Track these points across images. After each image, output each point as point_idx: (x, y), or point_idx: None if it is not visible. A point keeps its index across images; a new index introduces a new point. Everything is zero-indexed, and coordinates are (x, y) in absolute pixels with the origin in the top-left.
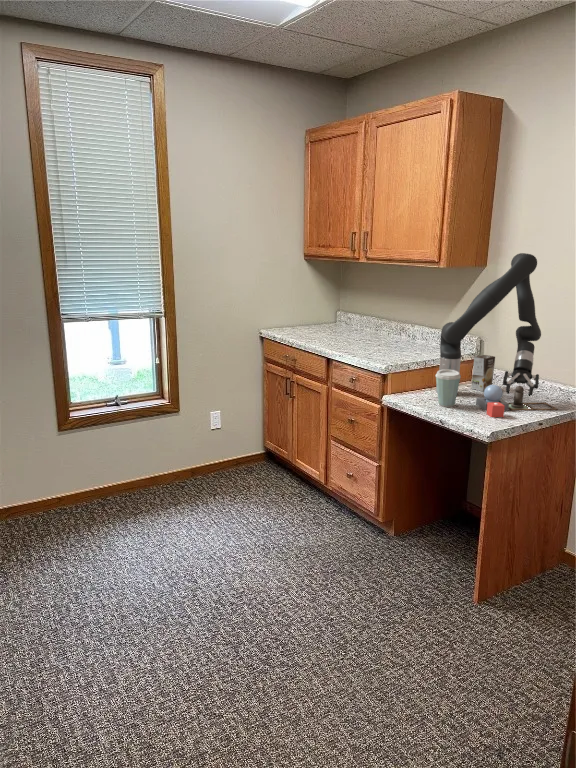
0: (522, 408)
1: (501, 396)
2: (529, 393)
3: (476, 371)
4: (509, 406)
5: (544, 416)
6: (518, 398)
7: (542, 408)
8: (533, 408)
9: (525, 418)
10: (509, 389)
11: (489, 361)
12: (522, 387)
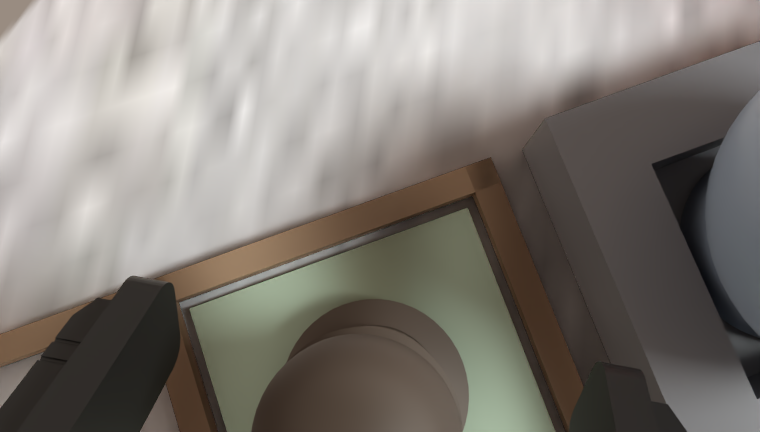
0: (313, 309)
1: (731, 130)
2: (152, 280)
3: None
4: (493, 363)
5: (85, 27)
6: (377, 326)
7: (25, 350)
8: None
9: None
10: (605, 424)
11: None
12: (280, 417)
